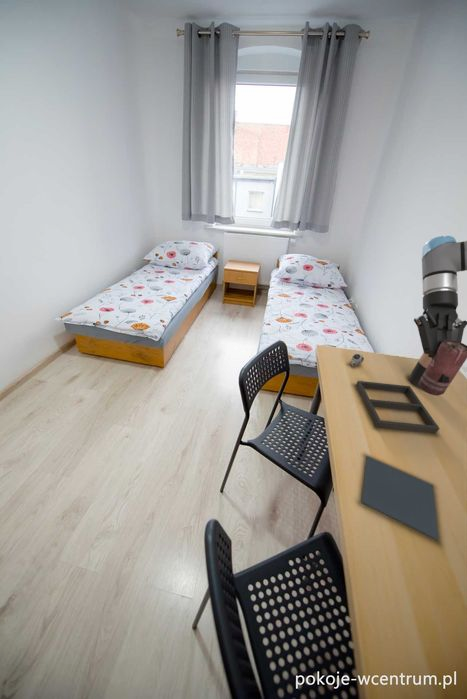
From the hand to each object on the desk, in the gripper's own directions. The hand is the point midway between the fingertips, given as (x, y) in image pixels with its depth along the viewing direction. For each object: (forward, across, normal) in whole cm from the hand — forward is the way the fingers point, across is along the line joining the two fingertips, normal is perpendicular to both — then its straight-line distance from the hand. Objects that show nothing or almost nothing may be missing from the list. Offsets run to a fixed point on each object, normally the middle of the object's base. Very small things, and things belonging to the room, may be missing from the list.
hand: (441, 382), depth 70 cm
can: (+2, -1, -5) cm, 6 cm away
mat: (+28, +10, -3) cm, 30 cm away
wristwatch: (-8, +3, -40) cm, 41 cm away
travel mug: (-3, -19, -35) cm, 40 cm away
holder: (+7, -2, -24) cm, 25 cm away
